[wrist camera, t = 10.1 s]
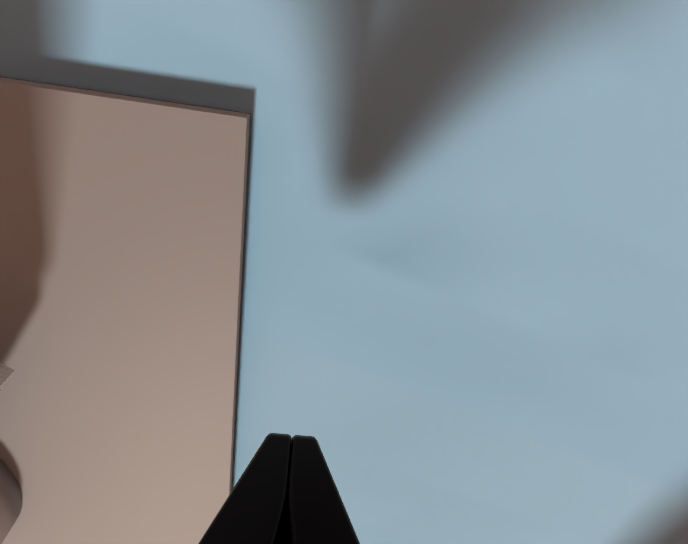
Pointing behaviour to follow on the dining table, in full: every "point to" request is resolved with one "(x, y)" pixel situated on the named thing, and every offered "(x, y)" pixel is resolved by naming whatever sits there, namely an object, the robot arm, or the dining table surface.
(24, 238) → the dial plate
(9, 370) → the crank
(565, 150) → the dining table surface
